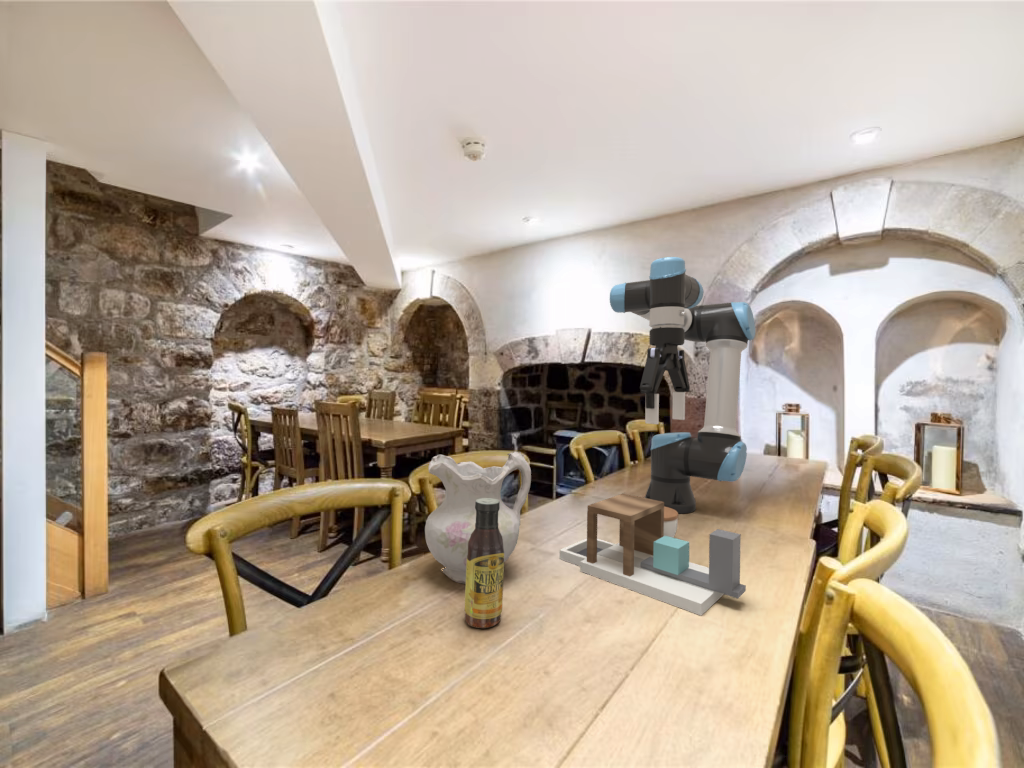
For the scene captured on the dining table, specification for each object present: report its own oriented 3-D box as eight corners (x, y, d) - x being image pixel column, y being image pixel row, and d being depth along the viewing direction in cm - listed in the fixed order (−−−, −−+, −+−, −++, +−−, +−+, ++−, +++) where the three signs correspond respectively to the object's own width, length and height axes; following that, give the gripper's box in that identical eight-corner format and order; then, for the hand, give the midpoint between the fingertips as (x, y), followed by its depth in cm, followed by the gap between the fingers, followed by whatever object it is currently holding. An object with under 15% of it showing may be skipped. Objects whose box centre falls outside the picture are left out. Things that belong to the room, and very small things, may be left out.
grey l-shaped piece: (649, 561, 94) (650, 513, 94) (745, 590, 82) (746, 535, 81) (640, 566, 92) (641, 517, 91) (738, 598, 79) (739, 541, 79)
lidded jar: (629, 546, 109) (629, 507, 109) (635, 532, 119) (635, 496, 119) (676, 553, 105) (677, 512, 105) (678, 537, 115) (679, 500, 115)
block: (664, 560, 93) (665, 535, 93) (689, 567, 89) (689, 541, 89) (653, 567, 89) (653, 541, 89) (678, 575, 86) (678, 548, 86)
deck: (595, 542, 111) (595, 534, 111) (733, 585, 89) (733, 574, 89) (553, 561, 99) (553, 551, 99) (701, 615, 77) (701, 603, 77)
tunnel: (622, 544, 105) (622, 493, 105) (663, 556, 98) (664, 502, 98) (586, 561, 95) (587, 505, 94) (629, 576, 88) (630, 516, 87)
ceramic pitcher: (506, 552, 107) (503, 446, 108) (549, 579, 90) (544, 452, 91) (415, 569, 98) (413, 453, 99) (444, 603, 80) (440, 461, 81)
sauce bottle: (473, 634, 71) (473, 508, 71) (458, 616, 76) (459, 498, 76) (510, 624, 74) (511, 503, 74) (494, 607, 79) (494, 494, 79)
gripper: (657, 321, 91) (656, 427, 92) (704, 330, 109) (703, 418, 110) (623, 324, 97) (623, 424, 97) (674, 332, 115) (673, 416, 115)
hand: (665, 421), depth 103 cm, fingers open, 13 cm apart
